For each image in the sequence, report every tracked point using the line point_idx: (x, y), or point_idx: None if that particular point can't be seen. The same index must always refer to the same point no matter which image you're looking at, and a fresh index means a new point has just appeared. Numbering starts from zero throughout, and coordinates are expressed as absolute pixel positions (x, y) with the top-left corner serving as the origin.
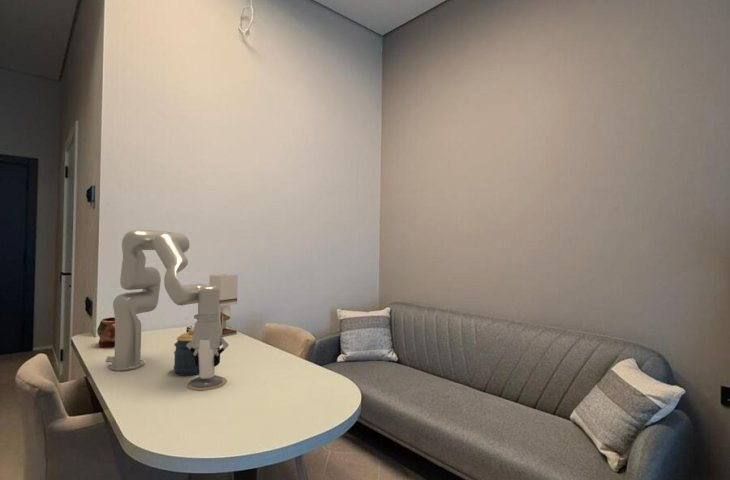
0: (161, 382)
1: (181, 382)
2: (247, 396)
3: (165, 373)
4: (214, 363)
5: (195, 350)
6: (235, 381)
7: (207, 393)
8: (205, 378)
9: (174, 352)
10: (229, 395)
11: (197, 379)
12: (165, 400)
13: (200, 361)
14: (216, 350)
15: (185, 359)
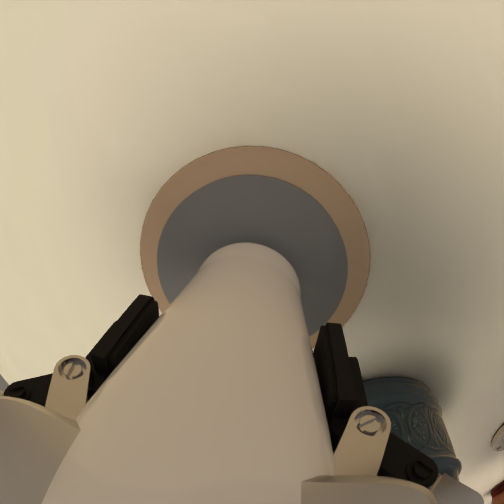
0: (482, 303)
1: (403, 298)
2: (23, 85)
3: (459, 394)
4: (141, 308)
5: (371, 464)
6: (108, 276)
7: (198, 96)
8: (243, 242)
9: (460, 471)
10: (82, 80)
11: (316, 296)
12: (413, 30)
13: (282, 323)
14: (55, 404)
15: (412, 442)
